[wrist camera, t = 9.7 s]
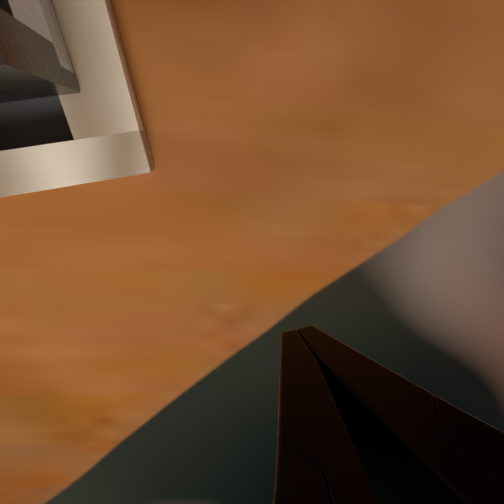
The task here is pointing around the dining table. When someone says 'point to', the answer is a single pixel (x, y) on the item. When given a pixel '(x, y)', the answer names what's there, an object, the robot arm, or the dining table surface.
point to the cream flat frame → (77, 113)
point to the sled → (33, 53)
